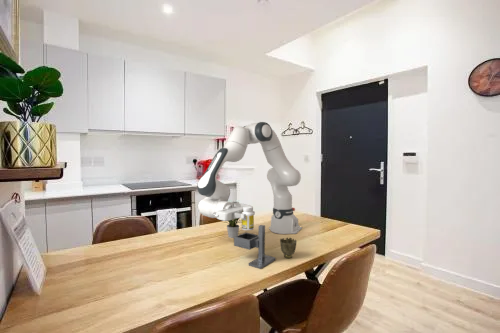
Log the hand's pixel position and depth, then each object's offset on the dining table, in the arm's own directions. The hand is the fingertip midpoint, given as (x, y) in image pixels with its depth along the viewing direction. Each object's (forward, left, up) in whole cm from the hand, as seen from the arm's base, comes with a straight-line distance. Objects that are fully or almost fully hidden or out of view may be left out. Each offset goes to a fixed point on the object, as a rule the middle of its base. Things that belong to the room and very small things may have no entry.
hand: (249, 214), depth 119 cm
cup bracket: (0, +3, -20) cm, 20 cm away
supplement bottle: (0, -1, -7) cm, 7 cm away
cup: (-12, +13, -20) cm, 27 cm away
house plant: (-22, -26, -20) cm, 39 cm away
